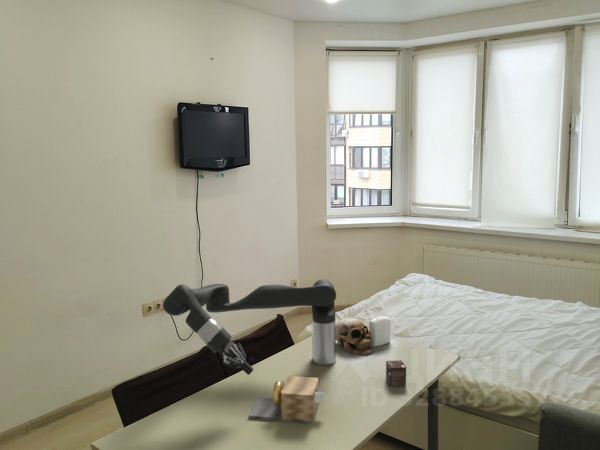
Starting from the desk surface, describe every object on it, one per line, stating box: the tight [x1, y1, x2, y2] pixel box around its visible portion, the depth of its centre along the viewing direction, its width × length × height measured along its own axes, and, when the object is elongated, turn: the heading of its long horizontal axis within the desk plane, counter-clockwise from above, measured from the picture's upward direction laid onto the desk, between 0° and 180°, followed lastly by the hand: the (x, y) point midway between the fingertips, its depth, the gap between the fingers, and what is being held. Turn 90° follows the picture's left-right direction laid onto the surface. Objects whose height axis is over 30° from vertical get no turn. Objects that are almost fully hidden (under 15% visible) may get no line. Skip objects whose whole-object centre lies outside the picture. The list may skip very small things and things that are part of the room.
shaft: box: [272, 380, 327, 407], centre depth 156 cm, size 16×8×8 cm, turn 79°
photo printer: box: [368, 315, 391, 348], centre depth 211 cm, size 10×4×12 cm, turn 121°
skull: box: [335, 317, 374, 356], centre depth 209 cm, size 16×17×13 cm
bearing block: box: [248, 375, 320, 425], centre depth 157 cm, size 21×12×10 cm, turn 79°
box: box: [385, 359, 407, 388], centre depth 176 cm, size 6×6×7 cm
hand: (251, 372), depth 158 cm, fingers closed
